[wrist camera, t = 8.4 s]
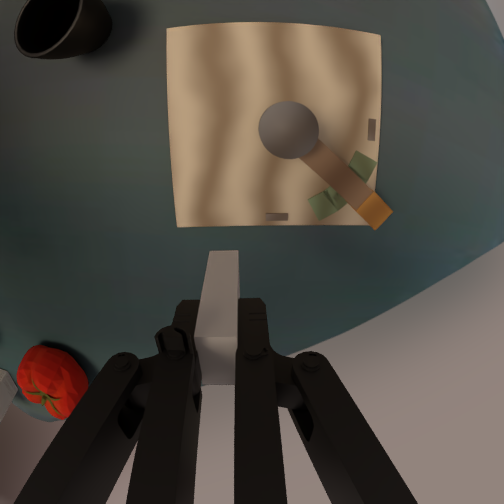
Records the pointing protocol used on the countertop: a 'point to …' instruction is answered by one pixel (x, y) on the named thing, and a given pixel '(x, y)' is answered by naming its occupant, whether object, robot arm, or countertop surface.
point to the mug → (61, 28)
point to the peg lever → (317, 157)
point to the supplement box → (6, 392)
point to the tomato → (52, 380)
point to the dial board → (250, 111)
